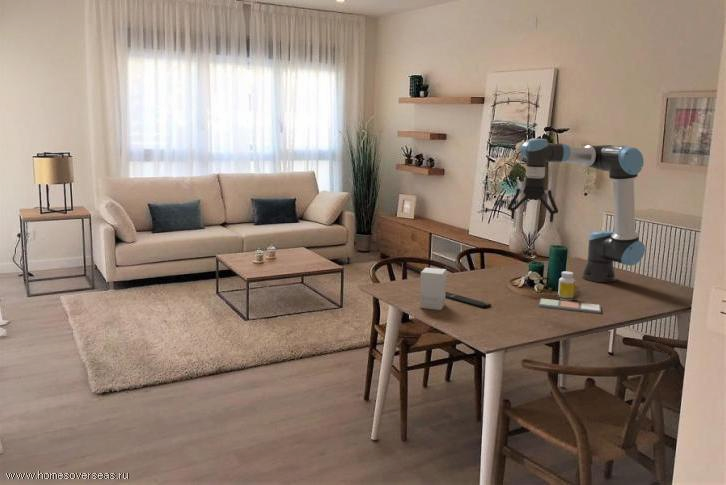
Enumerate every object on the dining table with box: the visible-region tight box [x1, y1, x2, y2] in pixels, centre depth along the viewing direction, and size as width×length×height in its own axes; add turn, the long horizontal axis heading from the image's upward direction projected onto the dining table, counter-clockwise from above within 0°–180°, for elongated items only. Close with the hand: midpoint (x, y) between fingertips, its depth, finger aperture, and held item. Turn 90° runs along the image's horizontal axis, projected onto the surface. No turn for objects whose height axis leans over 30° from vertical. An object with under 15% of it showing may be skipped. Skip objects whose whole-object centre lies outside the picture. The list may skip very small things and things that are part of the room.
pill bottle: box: [557, 271, 576, 302], centre depth 272 cm, size 6×6×12 cm
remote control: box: [445, 291, 492, 310], centre depth 267 cm, size 5×24×1 cm, turn 44°
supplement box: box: [419, 267, 447, 311], centre depth 258 cm, size 9×9×15 cm
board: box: [538, 297, 602, 315], centre depth 262 cm, size 10×24×1 cm, turn 71°
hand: (531, 228), depth 265 cm, fingers open, 13 cm apart
